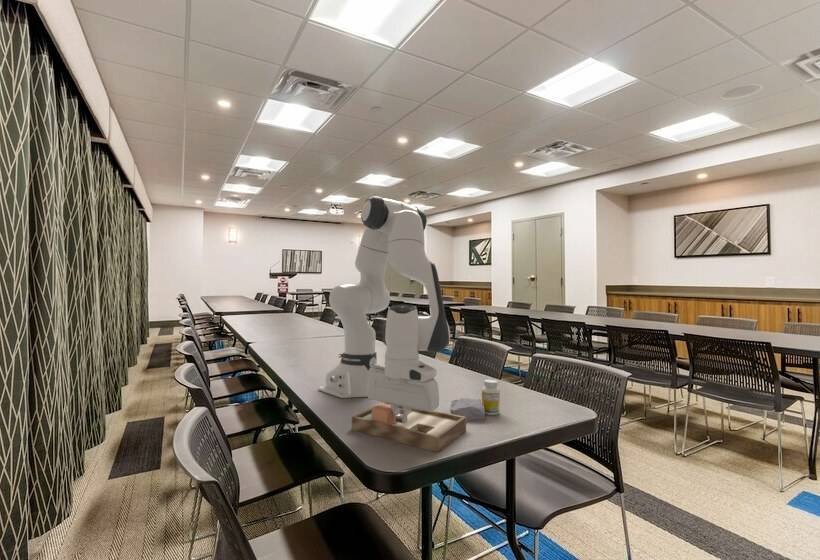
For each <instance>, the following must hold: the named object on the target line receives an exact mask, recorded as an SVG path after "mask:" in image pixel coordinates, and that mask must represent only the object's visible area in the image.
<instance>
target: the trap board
mask: <svg viewBox="0 0 820 560" xmlns="http://www.w3.org/2000/svg"><path fill="white" fill-rule="evenodd" d="M385 404H389V403H385ZM390 405H391V404H390ZM372 408H373V407H371V408H369V409H366V410H364V411H362V412H359V413H357V414H355V415H353V416H351V430H352V431H356V432H359V433H363V434H367V435H371V436H374V437H378V438H382V439H386V440H390V441H394V442H397V443H401V444H405V445H408V446H412V447H416V448H420V449H424V450H426V451H427V450H428V451H431V452H435V453H439V452H440V451H441V450H442V449H444V448H446V447H447V446H448V445H449V444H450V443H451V442H453V441H454V440H456V438H458V437H459V436H460V435H461V434H463V433H464V432H465V431H466V430H467V420H466V417H463V416H458V415H453V414H451V413H448V412H444V411H438V410H433V411H432V412H428V411H423V410H418V409H413V408H412V409H411V411H410V413H409V414H408V416H407V423H405V424H403V423H399V422H396V423H395V424H393V425H390V424H386V423H382V422H378V421H373V420H372ZM398 409H399V411H400V414H403V413H404V411H403V406H399V407H398Z"/></svg>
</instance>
